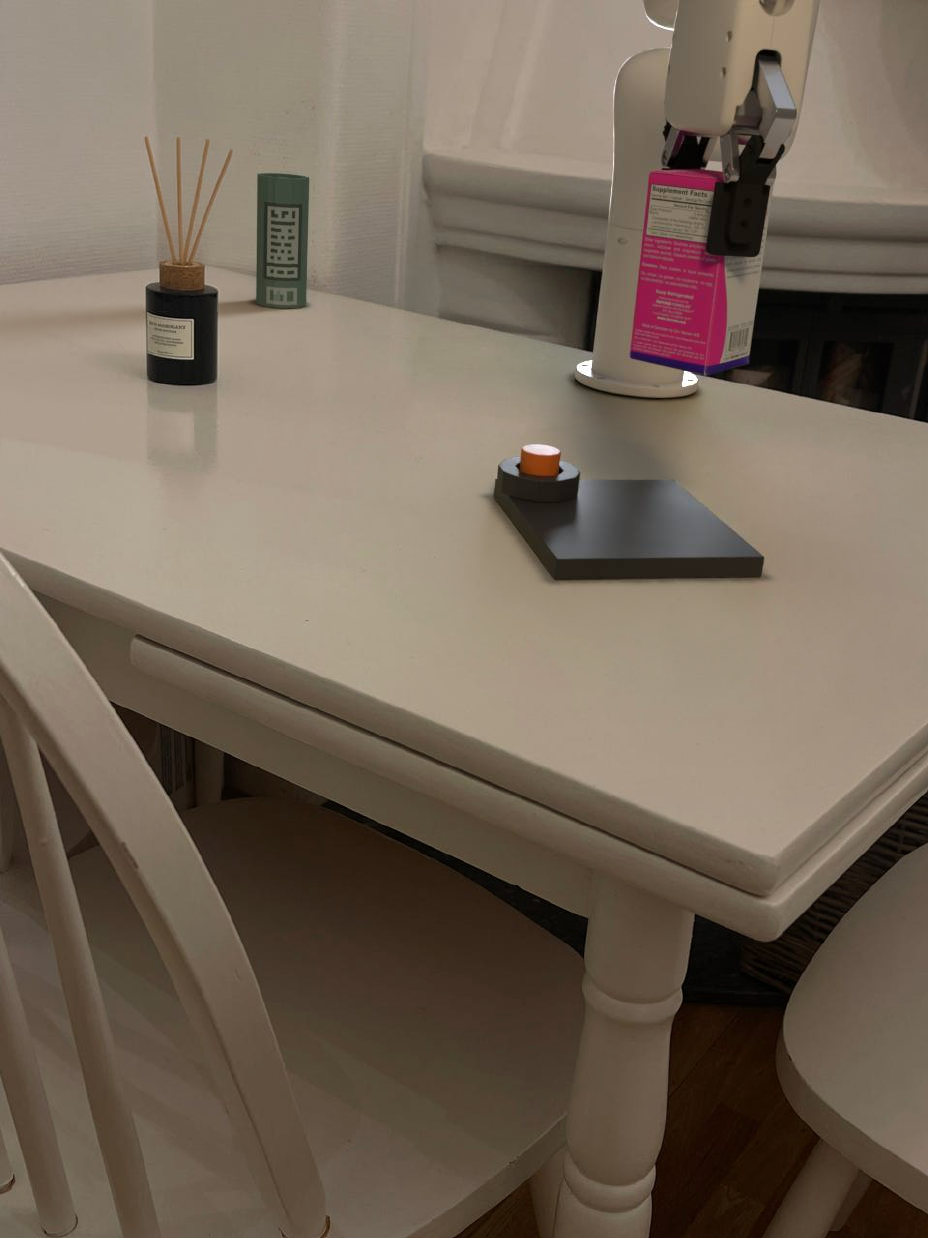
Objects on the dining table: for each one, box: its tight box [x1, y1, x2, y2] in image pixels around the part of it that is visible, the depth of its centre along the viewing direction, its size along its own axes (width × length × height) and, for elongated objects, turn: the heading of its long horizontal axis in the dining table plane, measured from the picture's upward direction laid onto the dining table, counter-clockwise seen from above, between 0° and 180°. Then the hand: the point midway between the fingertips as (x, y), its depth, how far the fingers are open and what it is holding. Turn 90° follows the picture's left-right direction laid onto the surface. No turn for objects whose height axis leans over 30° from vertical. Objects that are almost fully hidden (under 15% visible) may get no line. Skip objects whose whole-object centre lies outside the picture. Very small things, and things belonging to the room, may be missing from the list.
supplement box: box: [630, 169, 775, 377], centre depth 78 cm, size 6×6×12 cm
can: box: [255, 172, 310, 309], centre depth 153 cm, size 6×6×15 cm
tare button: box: [519, 443, 562, 476], centre depth 89 cm, size 3×3×2 cm
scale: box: [493, 456, 765, 581], centre depth 87 cm, size 16×14×3 cm
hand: (703, 242), depth 77 cm, fingers closed on supplement box, 7 cm apart
